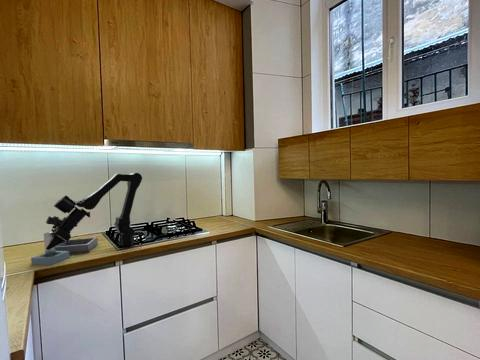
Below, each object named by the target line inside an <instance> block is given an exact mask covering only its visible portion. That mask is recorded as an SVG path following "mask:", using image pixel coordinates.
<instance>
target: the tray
mask: <svg viewBox="0 0 480 360" xmlns="http://www.w3.org/2000/svg"><path fill="white" fill-rule="evenodd" d="M98 239H99V238H98V236H97V237H85V238H83V237H82V238H73V239H71V238H70V239H69V240H68V241H66V242H63V243H61V244H59V245H57V246H56V251H69V255H76V254H87V253H90V252H91V251H93V250H94V248H96V247H97V246H98V245H99V240H98Z"/></svg>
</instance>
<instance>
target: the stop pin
mask: <svg viewBox="0 0 480 360" xmlns="http://www.w3.org/2000/svg"><path fill="white" fill-rule="evenodd" d="M53 233H54V232H52V231H47V232H44V233H43V241H44V242H43V243H44V253H45V257H52V256H54V255H56V246H55V247H53V248H51V249H49V250H47V249H46V248H47V246H48V245H49V243H50V242H51V240H52V239H53V237H54V236H53Z"/></svg>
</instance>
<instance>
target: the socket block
mask: <svg viewBox="0 0 480 360" xmlns="http://www.w3.org/2000/svg"><path fill="white" fill-rule="evenodd" d="M70 256H71V255H70V254H69V251H56V255H54V256H52V257H45V252H43V253H41V254H38V255H35V256H32V257H31V258H30V262H31V265H32V266H33V265H34V266H53V265H55V264H58V263H60V262H62V261H64V260H67V259H69V258H71V257H70Z"/></svg>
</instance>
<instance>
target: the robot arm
mask: <svg viewBox="0 0 480 360" xmlns="http://www.w3.org/2000/svg"><path fill="white" fill-rule="evenodd" d="M142 181H143V176H142V174H141V173H139V172H131V173H129V174H123V173H122V174H121V173H114V175H113V176H112V177H111V178H110V179H108V180H107V181H106V182H105V183H104V184H103V185H102V186H101V187H99V188H98V189H97V190H95V191H94V192H93V193H91V194H89V195H87V196H86V197H84V198H82V199H81V200H77V201H75V200H73V199H71V198H70V197H69V196H68V195H66V194H65V195H63V197H62V198H60V199H59V200H58V201H57V202H56V203H55V204H54V205H53V207H54V208H56V209H57V210H59V211H61V213H64V214H68V215H67V216H65V217H63V218H61V217H59V216H56V215H54V216H52V215H48V216H47V219H46V222H45V223H46V224H47V225H52V227H51V232H54V233H53V236H54V237H53V239H52V240H51V242H50V243H49V245H48V246H47V248H46V249H47V250H49V249H51V248H53V247H55V246H57V245H59V244H61V243H63V242H66V241H68V240H70V239H71V238H72V237H71V232H72V231H73V230H74V228H77V227H78V225H79V224H80V222H81V221H82V220H83V219H84V218H85V217H86V216H87V217H88V218H91V211H90V210H94V209H95V208H96V206H97V205H98V204H99V203H100V201H101V200H102V199H103V197H104V196H105V195H106V194H108V193H109V192H110V191H111V190H112V189H113V188H114V187H116V186H117V185H118V184H119V183H120V182H127V183H126V184H127V189H126V193H125V198H124V201H123V206H122V209H121V214H120V215H119V216H116V217H115V222H114V224H113V225H114V228H115V230H116V231H117V232H119V246H120V245H122V246H124V247H123V248H131V247H133V246H135V245H134V243H135V230H134V229H133V228H132V227H131V212H132V209H133V204H134V200H135V197H136V193H137V190H138V188H139V187H140V185H141V183H142ZM87 210H89V211H87Z"/></svg>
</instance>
